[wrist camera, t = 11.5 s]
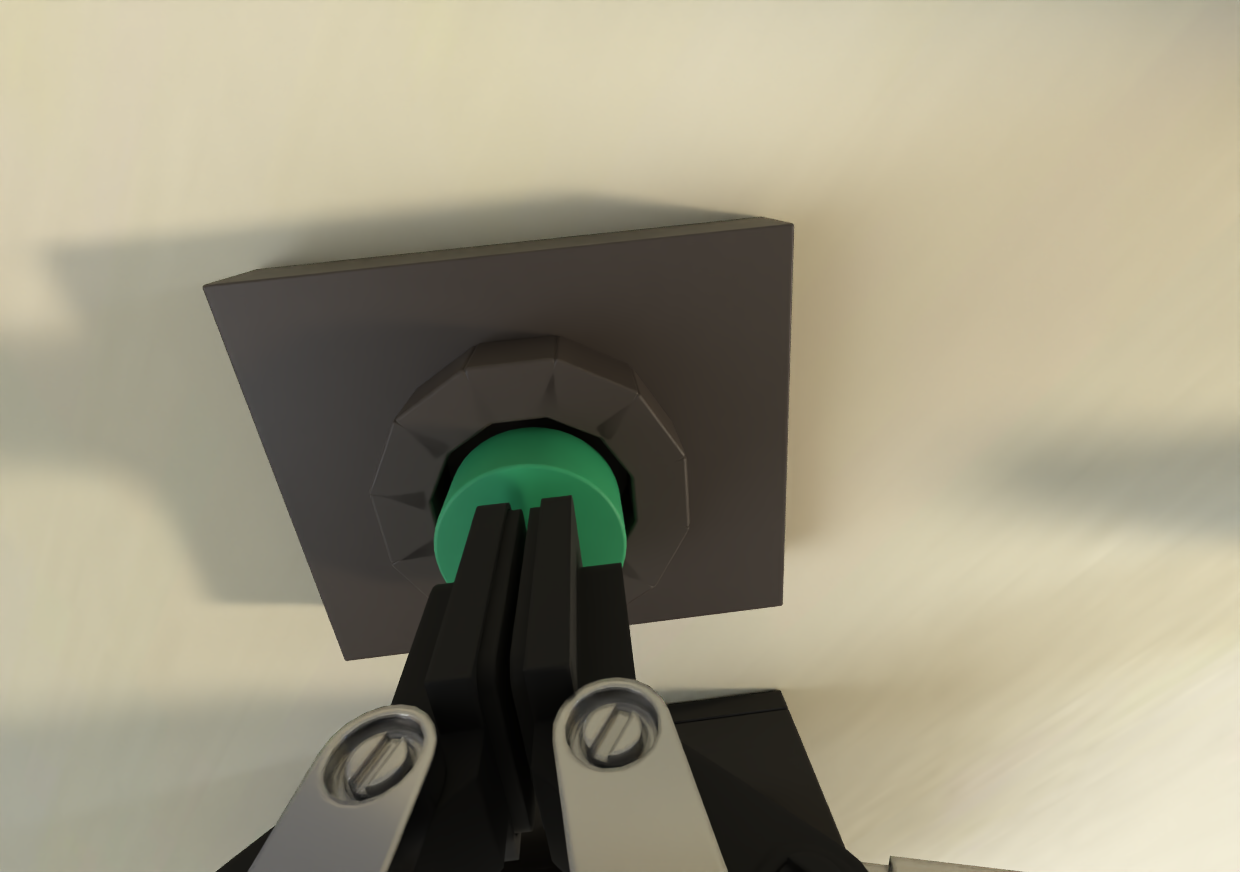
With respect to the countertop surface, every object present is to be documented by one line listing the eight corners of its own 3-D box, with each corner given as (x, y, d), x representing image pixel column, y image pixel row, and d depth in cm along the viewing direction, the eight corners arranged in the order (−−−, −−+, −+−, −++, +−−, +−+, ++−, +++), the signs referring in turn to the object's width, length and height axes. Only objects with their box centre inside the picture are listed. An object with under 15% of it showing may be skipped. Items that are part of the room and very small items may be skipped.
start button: (433, 436, 12) (411, 477, 10) (611, 416, 12) (617, 454, 10) (469, 580, 13) (454, 636, 12) (626, 561, 13) (634, 613, 12)
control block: (254, 269, 14) (139, 303, 10) (763, 216, 14) (831, 230, 10) (370, 607, 18) (318, 718, 14) (759, 558, 18) (807, 655, 14)
